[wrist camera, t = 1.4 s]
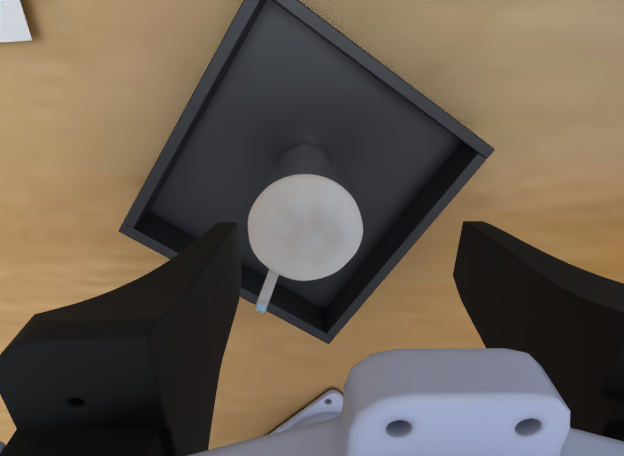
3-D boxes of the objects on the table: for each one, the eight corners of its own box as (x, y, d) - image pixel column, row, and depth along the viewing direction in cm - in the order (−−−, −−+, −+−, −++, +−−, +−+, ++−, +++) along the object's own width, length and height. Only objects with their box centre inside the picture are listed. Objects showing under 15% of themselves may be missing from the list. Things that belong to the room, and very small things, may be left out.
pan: (326, 316, 29) (328, 344, 26) (137, 211, 26) (117, 231, 23) (474, 137, 24) (495, 149, 22) (265, -21, 21) (259, -30, 18)
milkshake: (242, 192, 25) (206, 282, 16) (294, 115, 23) (288, 166, 14) (306, 233, 26) (307, 339, 17) (360, 162, 24) (395, 238, 15)
